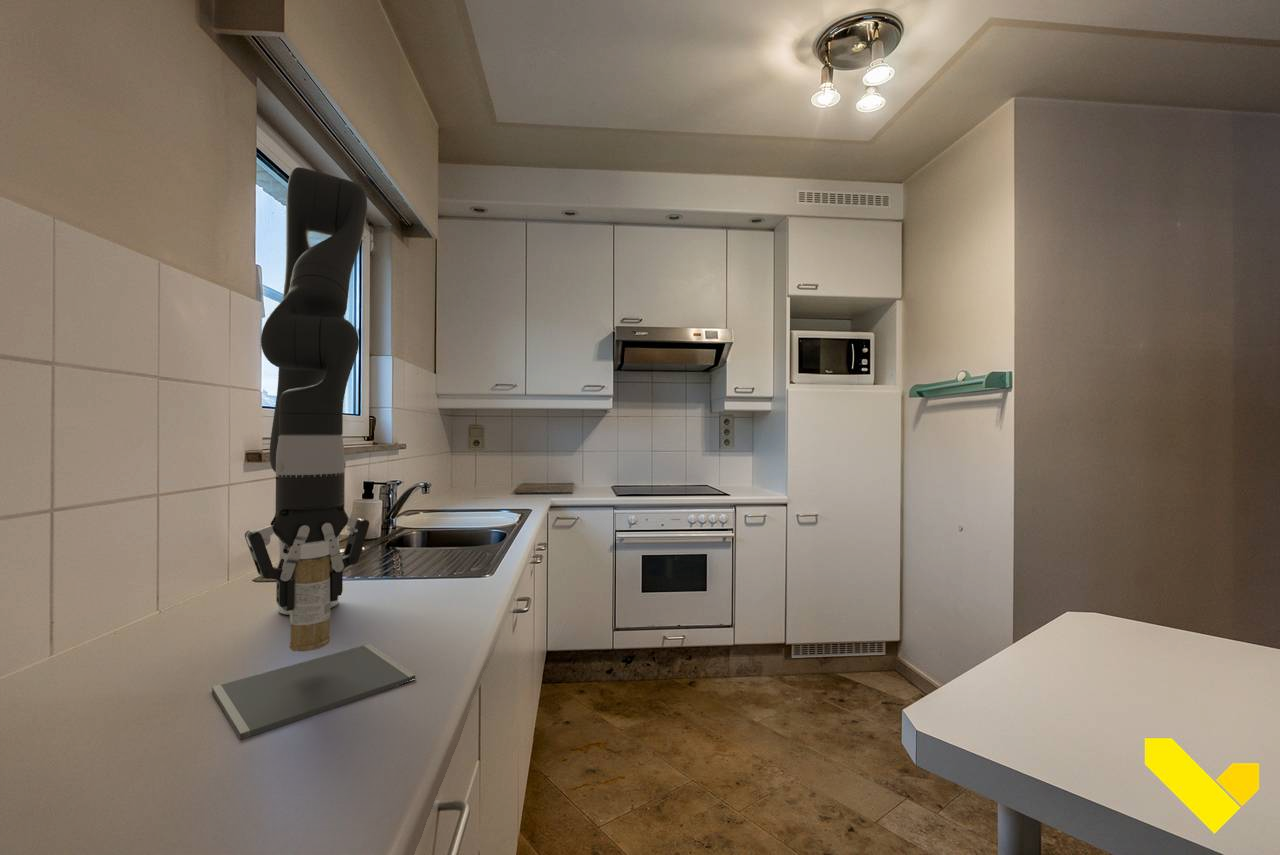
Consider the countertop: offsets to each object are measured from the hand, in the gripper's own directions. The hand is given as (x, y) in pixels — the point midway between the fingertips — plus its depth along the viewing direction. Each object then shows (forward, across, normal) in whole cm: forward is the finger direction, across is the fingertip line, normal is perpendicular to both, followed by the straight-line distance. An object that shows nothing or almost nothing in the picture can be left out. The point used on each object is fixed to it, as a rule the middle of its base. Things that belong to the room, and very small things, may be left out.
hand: (310, 604), depth 68 cm
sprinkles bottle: (+5, 0, 0) cm, 5 cm away
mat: (+9, 0, +3) cm, 10 cm away
